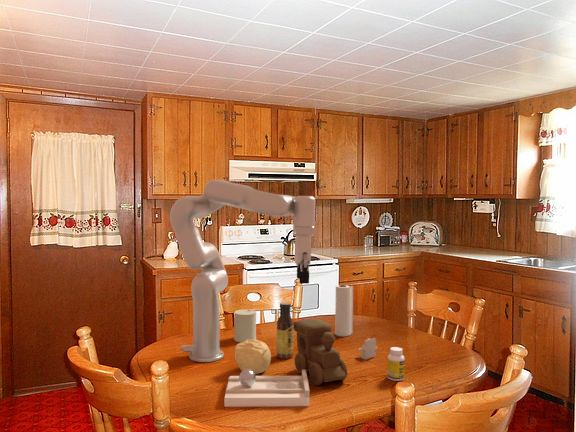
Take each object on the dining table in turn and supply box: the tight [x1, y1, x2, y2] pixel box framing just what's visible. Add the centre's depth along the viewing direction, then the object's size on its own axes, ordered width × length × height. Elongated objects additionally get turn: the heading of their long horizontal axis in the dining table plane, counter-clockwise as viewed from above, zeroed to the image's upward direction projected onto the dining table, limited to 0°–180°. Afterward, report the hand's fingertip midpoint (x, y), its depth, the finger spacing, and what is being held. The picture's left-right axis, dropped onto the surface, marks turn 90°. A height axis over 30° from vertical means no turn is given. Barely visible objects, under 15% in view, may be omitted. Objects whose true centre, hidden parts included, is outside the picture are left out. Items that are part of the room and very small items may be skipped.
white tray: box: [223, 370, 311, 408], centre depth 138 cm, size 24×16×4 cm, turn 92°
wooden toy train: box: [292, 318, 348, 386], centre depth 152 cm, size 20×11×17 cm, turn 26°
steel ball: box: [238, 369, 257, 387], centre depth 137 cm, size 5×5×5 cm
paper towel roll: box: [334, 284, 354, 337], centre depth 198 cm, size 7×6×21 cm
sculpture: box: [234, 339, 272, 375], centre depth 156 cm, size 12×12×11 cm
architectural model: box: [358, 337, 378, 360], centre depth 172 cm, size 3×7×7 cm, turn 125°
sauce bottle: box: [275, 302, 294, 360], centre depth 171 cm, size 7×6×20 cm
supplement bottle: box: [386, 346, 406, 382], centre depth 151 cm, size 5×5×10 cm
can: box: [233, 308, 257, 343], centre depth 191 cm, size 9×9×12 cm
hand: (302, 280), depth 160 cm, fingers open, 9 cm apart
